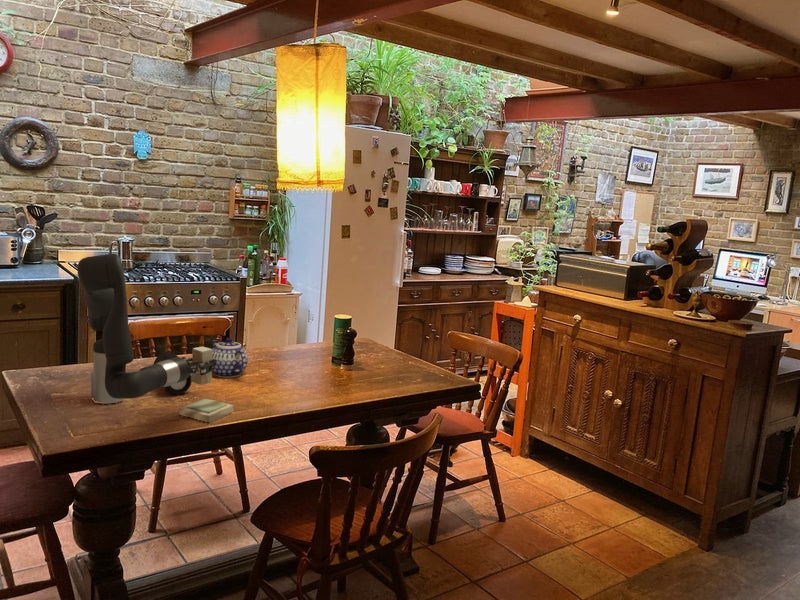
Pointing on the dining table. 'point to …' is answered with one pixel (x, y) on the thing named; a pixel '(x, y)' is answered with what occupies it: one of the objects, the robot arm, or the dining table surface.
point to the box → (203, 355)
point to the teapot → (229, 358)
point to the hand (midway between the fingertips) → (207, 360)
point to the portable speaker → (177, 387)
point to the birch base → (206, 410)
